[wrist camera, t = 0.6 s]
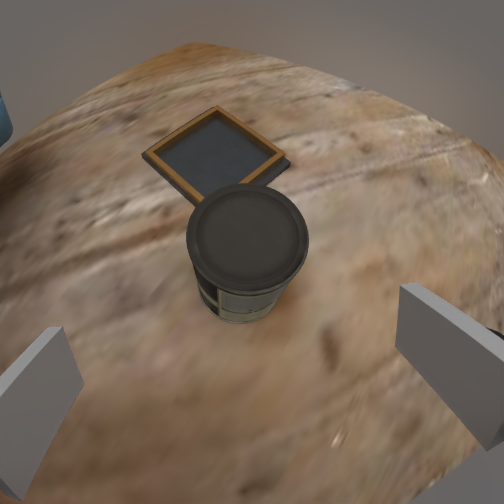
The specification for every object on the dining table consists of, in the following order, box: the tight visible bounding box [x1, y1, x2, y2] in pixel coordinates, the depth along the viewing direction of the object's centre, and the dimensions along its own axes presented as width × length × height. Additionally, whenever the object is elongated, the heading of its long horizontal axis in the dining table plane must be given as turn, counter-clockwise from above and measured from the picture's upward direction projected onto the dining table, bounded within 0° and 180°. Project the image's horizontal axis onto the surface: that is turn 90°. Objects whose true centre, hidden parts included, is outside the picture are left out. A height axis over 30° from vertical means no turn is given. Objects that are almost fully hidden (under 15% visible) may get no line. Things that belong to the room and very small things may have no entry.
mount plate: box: [141, 105, 291, 207], centre depth 45 cm, size 17×15×2 cm
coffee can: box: [186, 183, 309, 324], centre depth 33 cm, size 10×10×14 cm
